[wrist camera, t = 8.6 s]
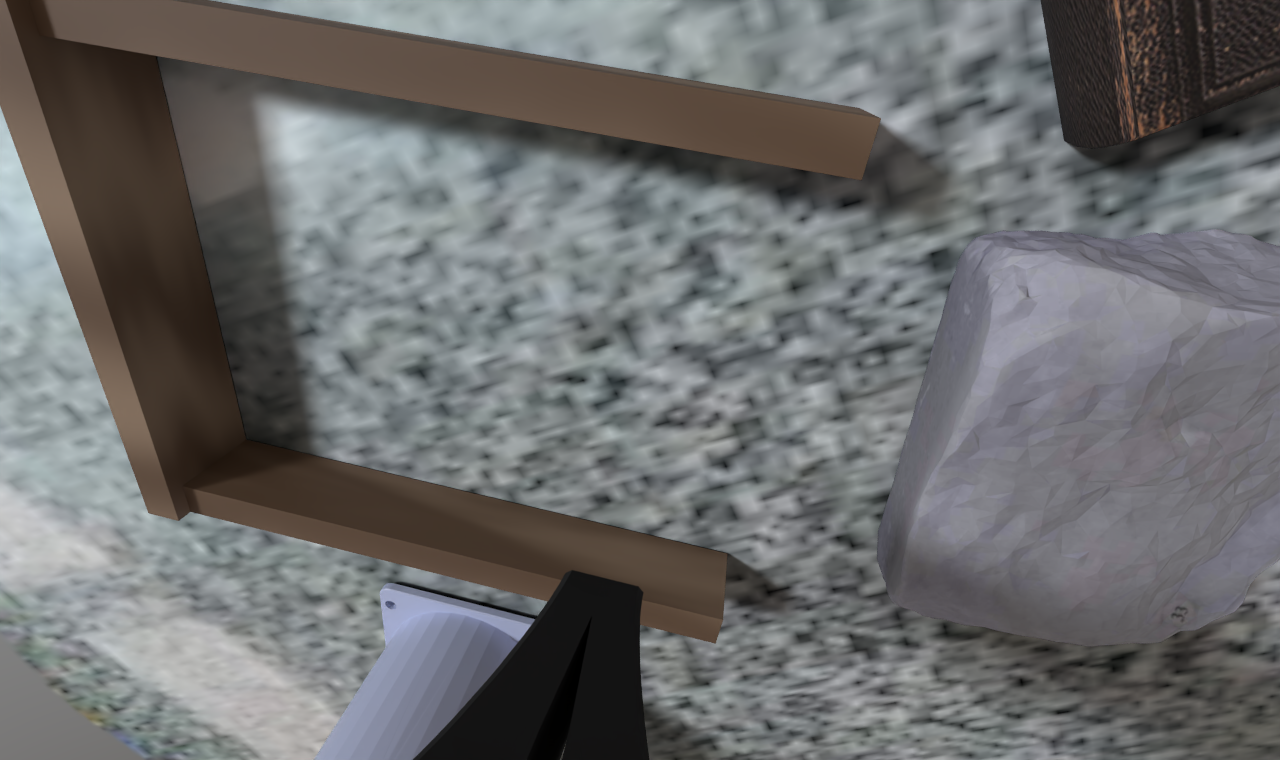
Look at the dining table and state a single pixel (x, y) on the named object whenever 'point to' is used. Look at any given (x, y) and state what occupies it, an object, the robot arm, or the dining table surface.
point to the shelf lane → (182, 299)
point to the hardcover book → (1156, 62)
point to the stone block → (1093, 438)
